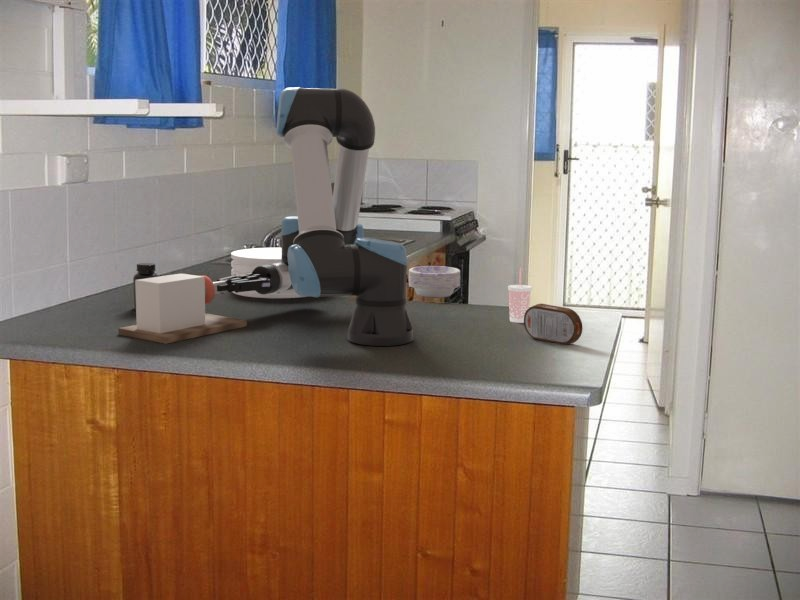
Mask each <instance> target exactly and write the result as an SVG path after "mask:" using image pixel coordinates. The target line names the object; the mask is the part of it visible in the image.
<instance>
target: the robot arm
mask: <svg viewBox="0 0 800 600" xmlns="http://www.w3.org/2000/svg"><path fill="white" fill-rule="evenodd" d="M277 108H278V109H277V119H276V131H275V132H276V136H277V137H280V138H283V142H284V145H285V146H286V147H287V148H288V149H290V151H291V158H292V171H293V181H294V191H295V192H294V193H295V194H294V195H295V202H296V213H297V215H295V216H294V215H291V216H285V217H284V218H283V219H282V221H281V232H280V238H281V241H280V242H281V244H280V245H281V247H280V248H282V258H281V263H275V264H269V265H263V266H258V267H256V268H255V269H254V270H253V272H252V273H247V274H245V275H241V276H239V277H238V276H237V275H235V274H234V275H231V276H226V277H221V278H217V279H216V281H212V282H213V285H214V289H215V294H214V295H218V294H223V295H224V294H225V293H233V291H235V292H236V293H238V292H245V291H254V290H255V291H256V292H257V293H259V294H270V293H274V292H277V294H280V291H285V290H291V289H294V290H295V292H296V293H297V294H298V295H300V296H308V297H313V298H320V297H344V296H345V297H350V296H351V297H352V296H354V297H355V306H354V311H353V313H352V316H351V318H350V323H349V325H348V328H347V341H349V342H351V343H354V344H357V345H364V346H371V347H373V346H375V347H390V346H400V345H405V344H409V343H411V342H412V341H414V330H413V327H412V323H411V319H410V315H409V313H408V310H407V309H408V308H407V276H408V275H407V273H408V271H407V270H408V269H407V267H408V265H409V264H408V258H407V257H408V256H407V255H408V254H407V248H406V246H404V244H402V243H399V242H395V241H391V240H385V239H380V238H370V237H365V231H364V227H363V225H362V224H361V223H359V216H360V212H361V211H360V210H361V203H362V195H363V192H364V191H363V190H364V183H365V178H366V171H367V164H368V159H369V158H368V157H369V151H370V149H372V148H373V147H374V145H375V138H376V126H375V119H374V116H373V114H372V112H371V110H370V108H369V106H368V105H367V103H366V102H365V101H364V100H363V98H361V97H360V96H359V95H358V94H357V93H355V92H353V91H352V90H349V89H346V88H317V87H315V88H313V87H311V88H307V87H305V88H304V87H300V86H297V87H286V88H284V89H282V90H281V92H280V95H279V102H278V107H277ZM333 138H335V140H336V143H337V144H338V152H337V162H336V169H335V177H334V184H333V187H332V180H331V168H330V160H329V152H328V151H329V150H328V146H329V145H331V143H332V141H333Z"/></svg>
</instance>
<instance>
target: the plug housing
mask: <svg viewBox="0 0 800 600" xmlns="http://www.w3.org/2000/svg"><path fill="white" fill-rule="evenodd" d="M135 287H136V309H135V311H136V312H135V314H136V315H135V316H136V318H135V319H136V320H135V321H136V325H137V329H139V330H144V331H150V332H155V333H165V332H170V331H175V330H180V329H185V328H190V327H194V326H199V325H204V324H205V313H206V304H205V277H204V276H201V275H195V274H187V273H174V274H167V275H161V276H159V277H153V278H146V279H139V280H135Z"/></svg>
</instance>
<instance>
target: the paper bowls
mask: <svg viewBox="0 0 800 600" xmlns="http://www.w3.org/2000/svg"><path fill="white" fill-rule="evenodd" d="M408 286H409V287H411V288H414V291H415V294H416V295H418V296H419V297H422V298H427V299H443V298H447V297H451V296H452V294H453V292H454V291H455V289H457V288H459V287H461V269H459V268H457V267H452V266H443V265H442V266H441V265H440V266H439V265H424V266H423V265H421V266H414V267H411V268H409V269H408Z"/></svg>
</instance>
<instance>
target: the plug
mask: <svg viewBox="0 0 800 600" xmlns="http://www.w3.org/2000/svg"><path fill="white" fill-rule="evenodd" d="M200 276H204V277H205V305H207V304H210V303H212V301H213V299H214V298H215V295H216V294H215V289H214V285H213V282H214V281H212V279H211V278H210V277H209V276H207V275H201V274H200Z"/></svg>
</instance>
